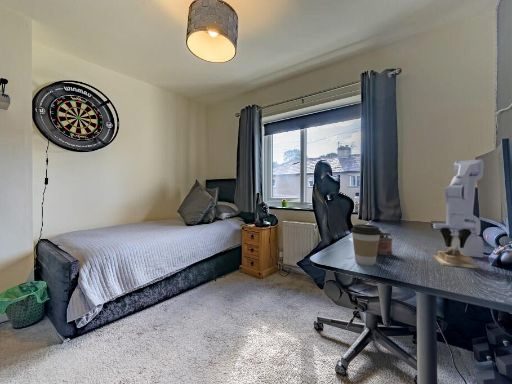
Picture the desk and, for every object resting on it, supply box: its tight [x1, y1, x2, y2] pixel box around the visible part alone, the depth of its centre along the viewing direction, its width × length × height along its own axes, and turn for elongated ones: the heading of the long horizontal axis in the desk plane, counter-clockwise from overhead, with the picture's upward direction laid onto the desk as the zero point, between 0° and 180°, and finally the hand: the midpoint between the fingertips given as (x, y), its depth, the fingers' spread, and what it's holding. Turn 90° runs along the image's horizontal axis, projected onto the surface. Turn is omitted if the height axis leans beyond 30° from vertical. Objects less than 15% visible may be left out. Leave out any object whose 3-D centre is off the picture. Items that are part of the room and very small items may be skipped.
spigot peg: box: [447, 233, 461, 256], centre depth 99 cm, size 4×4×8 cm
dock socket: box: [431, 250, 481, 269], centre depth 99 cm, size 12×12×3 cm
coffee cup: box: [350, 223, 382, 267], centre depth 97 cm, size 11×11×15 cm
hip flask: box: [377, 231, 393, 256], centre depth 111 cm, size 8×3×10 cm, turn 69°
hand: (454, 247), depth 98 cm, fingers closed on spigot peg, 4 cm apart
